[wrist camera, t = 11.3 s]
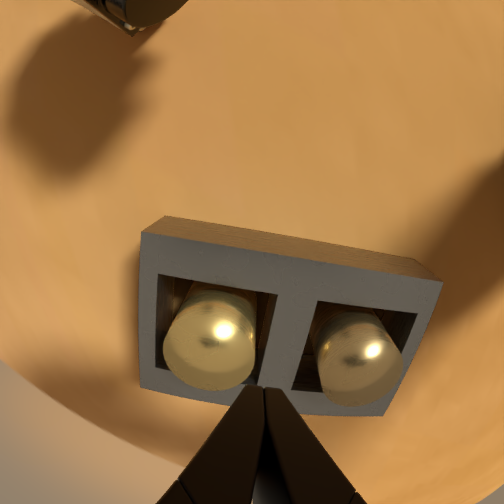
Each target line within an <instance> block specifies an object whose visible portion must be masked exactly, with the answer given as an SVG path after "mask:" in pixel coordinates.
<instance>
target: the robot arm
mask: <svg viewBox="0 0 504 504" xmlns="http://www.w3.org/2000/svg"><path fill="white" fill-rule="evenodd" d="M355 491H356V489H355V488H354V487H353V485H352V484H351V483H350V482H349V480H348V479H347V478H346V476H345V475H344V474H343V473H342V471H341V470H340V469H339V467H338V466H337V465H336V463H335V462H334V461H333V459H332V458H331V457H330V455H329V454H328V453H327V451H326V450H325V449H324V447H323V446H322V445H321V443H320V442H319V441H318V439H317V438H316V437H315V435H314V434H313V432H312V431H311V430H310V428H309V427H308V426H307V424H306V423H305V421H304V420H303V419H302V417H301V416H300V414H299V413H298V412H297V410H296V409H295V407H294V406H293V405H292V403H291V402H290V400H289V399H288V397H287V396H286V395H285V393H284V392H283V390H282V389H280V388H273V387H264V388H263V387H262V386H257V385H250V384H247V385H245V386H244V388H243V389H242V390H241V392H240V393H239V395H238V396H237V398H236V399H235V401H234V402H233V403H232V405H231V406H230V408H229V409H228V411H227V412H226V413H225V415H224V416H223V418H222V419H221V420H220V422H219V423H218V425H217V426H216V427H215V429H214V430H213V432H212V433H211V434H210V436H209V437H208V438H207V440H206V441H205V442H204V444H203V445H202V447H201V448H200V449H199V451H198V452H197V453H196V455H195V456H194V457H193V459H192V460H191V461H190V462H189V464H188V465H187V466H186V468H185V469H184V470H183V472H182V473H181V474H180V475H179V477H178V480H176V481H175V482H174V483H173V484H172V485H171V486H170V488H169V489H168V490H167V491H166V493H165V494H164V495H163V496H162V497H161V499H160V500H159V501H158V502H157V503H156V504H251V502H252V499H253V504H367V503H366V502H365V500H364V499H363V498H362V497H361V495H360V494H359V493H358V492H355Z"/></svg>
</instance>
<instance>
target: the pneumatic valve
mask: <svg viewBox="0 0 504 504" xmlns="http://www.w3.org/2000/svg"><path fill="white" fill-rule="evenodd" d="M71 1H73V2H75V3H77V4H79V5H80V6H82V7H84V8H86V9H87V10H89V11H91V12H93V13H94V14H96V15H98V16H99V17H101V18H103V19H104V20H106V21H108V22H109V23H111V24H113V25H114V26H116V27H117V28H119V29H121V30H122V31H124V32H125V33H127V34H128V35H130V36H131V37H133V36H134V35H135V34H136V33H137V32H138V31H143V30H144V29H145V28H146V27H150V26H153V25H155V24H158V23H160V22H162V21H164V20H165V19H167V18H168V17H170V16H171V15H173V14H174V13H175V12H176V11H178V10H179V9H180V8H181V7H182V6H183V5H184V4H185V3H186V2H187V1H188V0H71Z"/></svg>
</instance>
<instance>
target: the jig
mask: <svg viewBox="0 0 504 504" xmlns="http://www.w3.org/2000/svg"><path fill="white" fill-rule="evenodd" d="M175 277H179V278H184V279H190V280H195V281H201V282H206V283H212V284H218V285H224V286H230V287H235V288H241V289H248V290H254V291H260V292H266V293H270V294H269V299H268V303H267V308H266V313H265V318H264V322H263V327H262V332H261V336H260V341H259V346H258V348H255V361H254V366H253V369H252V371H251V373H250V375H249V376H248V377H247V378H246V379H245V380H244V381H243V382H242V383H241V384H239V385H237V386H235V387H233V388H230V389H226V390H221V391H208V390H202V389H198V388H195V387H193V386H190V385H188V384H186V383H185V382H183V381H182V380H180V379H179V378H178V377H177V376H175V375H174V373H173V372H172V371H171V370H170V368H169V367H168V365H167V363H166V361H165V358H164V354H163V343H164V340H165V337H166V335H167V333H168V331H169V329H170V327H171V325H172V314H173V299H174V285H175ZM443 283H444V282H443V281H441V280H440V279H439V278H438V277H436V276H435V275H434V274H432V273H431V272H430V271H429V270H427V269H426V268H425V267H424V266H422V265H421V264H420V263H418V262H417V261H416V260H414V259H410V258H405V257H399V256H394V255H389V254H384V253H379V252H373V251H368V250H363V249H357V248H352V247H347V246H341V245H336V244H330V243H325V242H319V241H314V240H308V239H302V238H297V237H291V236H285V235H280V234H274V233H268V232H262V231H256V230H250V229H244V228H238V227H232V226H226V225H220V224H214V223H208V222H202V221H195V220H189V219H183V218H176V217H170V216H164V217H162V218H161V219H159V220H158V221H156V222H155V223H153V224H152V225H150V226H149V227H147V228H146V229H144V230H143V231H141V246H140V266H139V300H138V336H139V370H140V387H141V388H145V389H149V390H153V391H157V392H161V393H165V394H170V395H174V396H179V397H184V398H188V399H193V400H199V401H204V402H210V403H215V404H221V405H227V406H231V405H232V403H233V402H234V401H235V399H236V398H237V396H238V395H239V393H240V392H241V390H242V389H243V388H244V386H245V385H247V384H250V385H257V386H262V387H263V388H264V387H273V388H280V389H282V390H283V392H284V393H285V395H286V396H287V397H288V399H289V400H290V402H291V403H292V405H293V406H294V407H295V409H296V410H297V412H298V413H299V414H308V415H327V416H383V415H384V413H385V412H386V410H387V408H388V406H389V405H390V403H391V401H392V399H393V397H394V395H395V393H396V392H397V390H398V388H399V386H400V384H401V382H402V380H403V378H404V376H405V374H406V372H407V370H408V368H409V366H410V364H411V362H412V360H413V357H414V355H415V353H416V351H417V349H418V346H419V344H420V342H421V340H422V337H423V335H424V333H425V330H426V328H427V325H428V323H429V321H430V318H431V316H432V313H433V310H434V308H435V305H436V302H437V300H438V297H439V294H440V292H441V289H442V286H443ZM318 300H319V301H326V302H333V303H340V304H347V305H355V306H362V307H370V308H378V309H385V311H384V314H383V317H382V320H381V323H382V325H383V326H384V328H385V330H386V331H387V333H388V334H389V336H390V337H391V339H392V341H393V342H394V344H395V345H396V347H397V348H398V350H399V352H400V353H401V356H402V358H403V370H402V374H401V376H400V378H399V380H398V382H397V383H396V385H395V386H394V387H393V388H392V389H391V390H390V391H389V392H388V393H387V394H386V395H384V396H383V397H381V398H380V399H378V400H376V401H374V402H372V403H369V404H366V405H362V406H356V407H347V406H341V405H338V404H335V403H333V402H332V401H330V400H329V399H328V398H327V397H326V396H325V394H324V392H323V389H322V385H321V380H320V376H319V372H318V368H317V363H316V359H315V355H307V354H302V353H303V350H304V346H305V343H306V340H307V336H308V333H309V329H310V326H311V322H312V319H313V315H314V312H315V308H316V305H317V301H318Z"/></svg>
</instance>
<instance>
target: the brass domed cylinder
mask: <svg viewBox="0 0 504 504" xmlns="http://www.w3.org/2000/svg"><path fill="white" fill-rule="evenodd" d="M256 312H257V299H256V294H255V291H254V290H248V289H241V288H235V287H230V286H224V285H218V284H212V283H206V282H201V281H194V283H193V284H192V286H191V288H190V290H189V292H188V293H187V295H186V297H185V299H184V301H183V303H182V305H181V307H180V309H179V311H178V313H177V315H176V317H175V319H174V321H173V323H172V325H171V327H170V329H169V331H168V333H167V335H166V337H165V340H164V343H163V354H164V358H165V361H166V363H167V365H168V367H169V368H170V370H171V371H172V372H173V373H174V375H175V376H177V377H178V378H179V379H180V380H182V381H183V382H185V383H186V384H188V385H190V386H193V387H195V388H198V389H202V390H208V391H221V390H226V389H230V388H233V387H235V386H237V385H239V384H241V383H242V382H243V381H244V380H245V379H246V378H247V377H248V376H249V375H250V373H251V371H252V369H253V366H254V361H255V338H256Z"/></svg>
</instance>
